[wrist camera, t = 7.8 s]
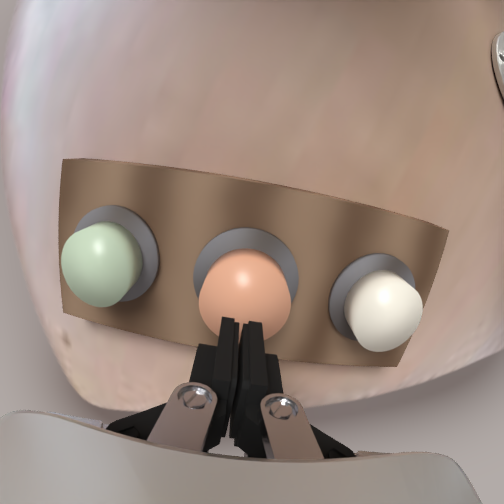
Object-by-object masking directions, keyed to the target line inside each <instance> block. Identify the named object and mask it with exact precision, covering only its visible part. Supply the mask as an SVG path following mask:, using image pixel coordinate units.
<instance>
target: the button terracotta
mask: <svg viewBox="0 0 504 504" xmlns="http://www.w3.org/2000/svg"><path fill="white" fill-rule="evenodd" d="M290 309H291V297H290V293H289V290H288V286H287V283H286V279H285V276H284V273H283V271H282V269H281V267H280V266H279V264H278V263H277V262H276V261H275V260H274V259H273V258H272V257H270V256H269V255H268V254H266V253H264V252H261V251H259V250H255V249H248V248H242V249H235V250H232V251H229V252H227V253H225V254H223V255H221V256H220V257H219V258H218V259H216V261H215V262H214V263H213V264H212V265H211V267H210V269H209V270H208V273H207V275H206V278H205V281H204V283H203V286H202V288H201V291H200V295H199V310H200V314H201V316H202V319H203V320H204V322H205V324H206V325H207V326H208V328H209V329H210V330H211V331H212V332H213V333H215V334H216V335H217V336H219V332H220V326H221V319H222V316H223V317H229V318H235V322H239V342H240V337H241V332H242V327H243V323H245V324H248V322H249V321H255V322H262V327H263V337H264V340H266V339H268V338H270V337H272V336H273V335H275V334H276V333H277V332H278V331H279V330H280V329H281V328H282V327H283V326H284V324H285V323H286V321H287V319H288V316H289V314H290Z"/></svg>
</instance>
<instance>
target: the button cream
mask: <svg viewBox="0 0 504 504" xmlns="http://www.w3.org/2000/svg"><path fill="white" fill-rule="evenodd" d="M422 311H423V305H422V300H421V297H420V295H419V293H418V292H417V291H416V290H415V289H414V288H413V287H412V286H410V285H409V284H408V283H407V282H406V281H405V280H403V279H402V278H401V277H400V276H399V275H397V274H396V273H394V272H392V271H388V270H377V271H373V272H370V273H368V274H366V275H364V276H363V277H361V278H360V279H359V280H358V281H357V282H356V283H355V284H354V285H353V286H352V288H351V289H350V291H349V292H348V294H347V297H346V300H345V304H344V314H345V318H346V320H347V322H348V324H349V326H350V328H351V329H352V331H353V333H354V335H355V336H356V338H357V340H358V342H359V343H360V344H361V345H362V346H363V347H364V348H366V349H368V350H370V351H374V352H383V351H388V350H391V349H394V348H396V347H398V346H400V345H401V344H403V343H404V342H405V341H406V340H407V339H409V338H410V336H411V335H412V334H413V333H414V332H415V330H416V328H417V327H418V325H419V323H420V320H421V317H422Z"/></svg>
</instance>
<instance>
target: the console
mask: <svg viewBox="0 0 504 504" xmlns="http://www.w3.org/2000/svg"><path fill="white" fill-rule="evenodd" d="M102 221H111V222H115V223H118V224H120V225H122V226H123V227H125V228H126V229H127V230H128V231H130V232H131V234H132V235H133V236H134V237H135V239H136V240H137V242H138V244H139V247H140V250H141V253H142V270H141V274H140V276H139V278H138V280H137V281H136V283H135V284H134V285H133V286H132V287H131V288H130V289H129V290H128V292H127V293H126V294H125V295H124V296H123V297H122V298H121V300H119V301H118V302H117V303H116V304H114V305H112V306H108V307H96V306H92V305H89V304H87V303H85V302H84V301H82V300H81V299H80V298H78V297H77V296H76V295H75V294H74V293H73V291H72V290H71V289H70V287H69V286H68V284H67V282H66V280H65V278H64V275H63V271H62V266H61V256H62V250H63V247H64V245H65V243H66V241H67V240H68V239H69V237H70V236H72V235H73V234H74V233H76V232H78V231H80V230H82V229H84V228H87V227H89V226H91V225H93V224H96V223H98V222H102ZM448 233H449V230H446V229H444V228H442V227H439V226H437V225H434V224H432V223H429V222H426V221H423V220H420V219H416V218H413V217H409V216H406V215H402V214H399V213H395V212H392V211H388V210H384V209H381V208H377V207H373V206H369V205H365V204H361V203H357V202H353V201H349V200H345V199H341V198H337V197H333V196H328V195H324V194H319V193H315V192H310V191H306V190H301V189H296V188H292V187H287V186H282V185H277V184H272V183H267V182H261V181H256V180H250V179H245V178H239V177H233V176H227V175H221V174H215V173H209V172H202V171H195V170H188V169H181V168H174V167H166V166H158V165H149V164H140V163H131V162H121V161H110V160H98V159H85V158H81V159H63V161H62V171H61V183H60V198H59V268H60V283H61V295H62V304H63V312H64V313H67V314H70V315H73V316H76V317H79V318H82V319H86V320H89V321H92V322H96V323H99V324H103V325H106V326H110V327H114V328H117V329H121V330H125V331H129V332H133V333H137V334H141V335H145V336H149V337H153V338H158V339H162V340H167V341H171V342H176V343H181V344H186V345H191V346H196V347H198V344H199V343H201V344H207V345H213V346H217V345H218V338H219V336H217V335H216V334H215V333H213V332H212V331H211V330H210V329H209V328H208V326H207V325H206V324H205V322H204V320H203V319H202V316H201V314H200V310H199V295H200V291H201V288H202V286H203V283H204V281H205V278H206V275H207V273H208V270H209V269H210V267H211V265H212V264H213V263H214V262H215V261H216V259H218V258H219V257H220V256H221V255H223V254H225V253H227V252H229V251H232V250H235V249H242V248H248V249H255V250H259V251H261V252H264V253H266V254H268V255H269V256H270V257H272V258H273V259H274V260H275V261H276V262H277V263H278V264H279V266H280V267H281V269H282V271H283V273H284V276H285V279H286V283H287V286H288V290H289V293H290V297H291V309H290V314H289V316H288V319H287V321H286V323H285V324H284V326H283V327H282V328H281V329H280V330H279V331H278V332H277V333H276V334H275V335H273V336H272V337H270V338H268V339H266V340H264V347H265V353H268V354H276V355H277V357H278V359H281V360H290V361H300V362H310V363H322V364H336V365H353V366H380V367H397V366H398V364H399V362H400V360H401V358H402V356H403V353H404V351H405V349H406V347H407V345H408V343H409V341H410V339H411V336H412V335H411V336H410V338H409V339H407V340H406V341H405V342H404V343H403V344H401V345H400V346H398V347H396V348H394V349H391V350H388V351H383V352H374V351H370V350H368V349H366V348H364V347H363V346H362V345H361V344H360V343H359V342H358V340H357V338H356V336H355V335H354V333H353V331H352V329H351V328H350V326H349V324H348V322H347V320H346V318H345V314H344V304H345V300H346V297H347V294H348V292H349V291H350V289H351V288H352V286H353V285H354V284H355V283H356V282H357V281H358V280H359V279H360V278H361V277H363V276H364V275H366V274H368V273H370V272H373V271H377V270H388V271H392V272H394V273H396V274H397V275H399V276H400V277H401V278H402V279H403V280H405V281H406V282H407V283H408V284H409V285H410V286H412V287H413V288H414V289H415V290H416V291H417V292H418V293H419V295H420V297H421V300H422V305H423V308H424V306H425V303H426V300H427V298H428V295H429V292H430V290H431V287H432V284H433V281H434V278H435V276H436V273H437V270H438V267H439V263H440V260H441V257H442V254H443V251H444V247H445V244H446V240H447V237H448Z"/></svg>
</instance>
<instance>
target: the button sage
mask: <svg viewBox="0 0 504 504" xmlns="http://www.w3.org/2000/svg"><path fill="white" fill-rule="evenodd" d="M61 266H62V271H63V275H64V278H65V280H66V282H67V284H68V286H69V287H70V289H71V290H72V291H73V293H74V294H75V295H76V296H77V297H78V298H80V299H81V300H82V301H84V302H85V303H87V304H89V305H92V306H96V307H108V306H112V305H114V304H116V303H117V302H118V301H119V300H121V298H122V297H123V296H124V295H125V294H126V293H127V292H128V290H129V289H130V288H131V287H132V286H133V285H134V284H135V283H136V281H137V280H138V278H139V276H140V274H141V270H142V253H141V250H140V247H139V244H138V242H137V240H136V239H135V237H134V236H133V235H132V234H131V232H130V231H128V230H127V229H126V228H125V227H123V226H122V225H120V224H118V223H115V222H111V221H102V222H98V223H96V224H93V225H91V226H89V227H87V228H84V229H82V230H80V231H78V232H76V233H74V234H73V235H72V236H70V237H69V239H68V240H67V241H66V243H65V245H64V247H63V250H62V256H61Z"/></svg>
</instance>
